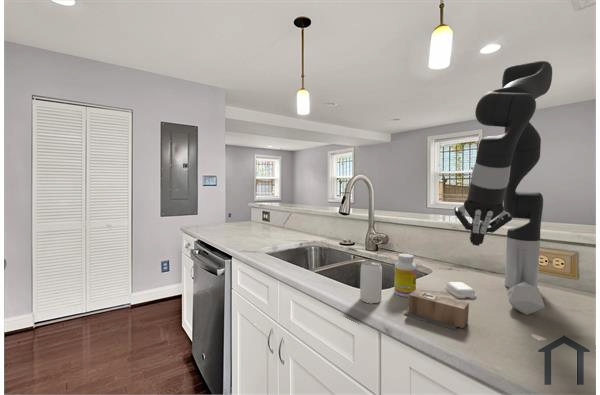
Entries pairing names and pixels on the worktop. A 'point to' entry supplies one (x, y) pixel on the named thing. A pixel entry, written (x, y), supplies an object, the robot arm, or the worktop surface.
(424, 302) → the brown wooden block
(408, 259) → the supplement bottle
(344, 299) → the worktop surface
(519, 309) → the die
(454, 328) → the mat
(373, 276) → the can
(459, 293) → the soap
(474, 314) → the worktop surface
